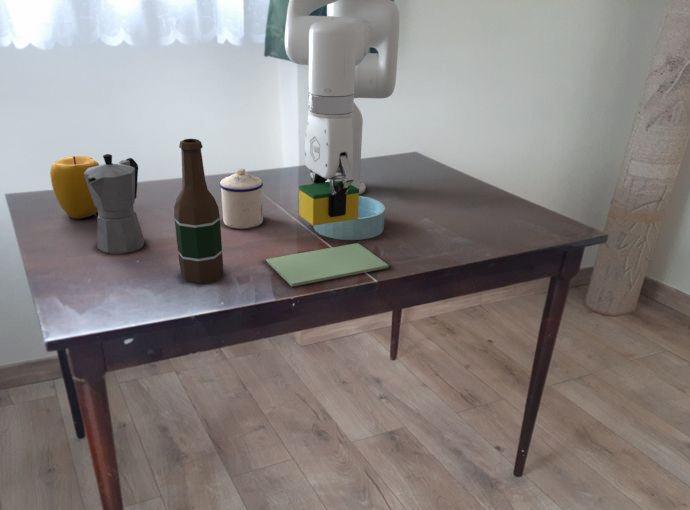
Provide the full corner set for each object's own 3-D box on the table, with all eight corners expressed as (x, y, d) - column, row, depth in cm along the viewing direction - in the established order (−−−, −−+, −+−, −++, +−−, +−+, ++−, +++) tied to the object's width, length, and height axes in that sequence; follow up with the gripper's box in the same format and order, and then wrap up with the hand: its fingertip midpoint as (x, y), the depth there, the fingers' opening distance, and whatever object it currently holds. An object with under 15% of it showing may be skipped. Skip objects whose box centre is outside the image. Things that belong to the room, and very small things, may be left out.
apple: (111, 220, 138) (101, 161, 131) (58, 225, 135) (46, 165, 128) (107, 204, 147) (98, 148, 140) (58, 209, 144) (46, 152, 137)
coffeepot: (123, 261, 120) (108, 165, 110) (81, 254, 122) (62, 160, 113) (164, 233, 132) (154, 145, 123) (125, 227, 135) (112, 141, 125)
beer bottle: (182, 266, 118) (168, 134, 105) (224, 266, 119) (215, 134, 106) (178, 285, 111) (162, 146, 99) (222, 284, 112) (213, 146, 100)
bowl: (299, 231, 135) (299, 208, 132) (337, 212, 145) (338, 190, 143) (360, 247, 128) (361, 224, 125) (396, 226, 138) (397, 204, 136)
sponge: (313, 226, 111) (313, 195, 108) (298, 215, 116) (298, 185, 113) (357, 219, 114) (359, 189, 112) (342, 209, 119) (343, 180, 116)
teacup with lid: (271, 224, 138) (270, 171, 132) (234, 232, 133) (231, 178, 127) (244, 209, 146) (242, 158, 140) (209, 216, 142) (205, 164, 135)
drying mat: (291, 286, 112) (291, 283, 111) (266, 261, 121) (266, 258, 120) (388, 268, 119) (388, 265, 119) (357, 245, 128) (358, 242, 128)
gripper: (289, 97, 110) (290, 198, 119) (334, 116, 97) (331, 228, 106) (327, 95, 113) (325, 193, 122) (376, 112, 100) (370, 222, 109)
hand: (328, 208), depth 114 cm, fingers closed on sponge, 6 cm apart
